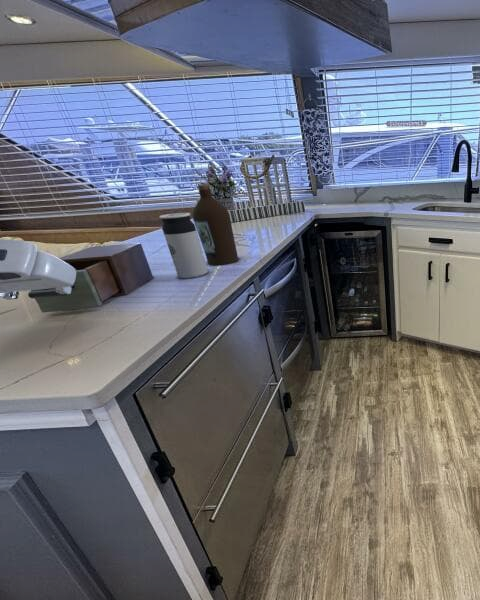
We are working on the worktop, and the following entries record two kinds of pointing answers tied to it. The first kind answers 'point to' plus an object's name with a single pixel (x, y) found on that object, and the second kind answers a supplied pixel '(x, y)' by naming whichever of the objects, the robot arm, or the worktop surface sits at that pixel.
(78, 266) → the drawer
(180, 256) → the travel mug
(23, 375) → the worktop surface
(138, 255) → the storage box
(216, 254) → the olive oil
